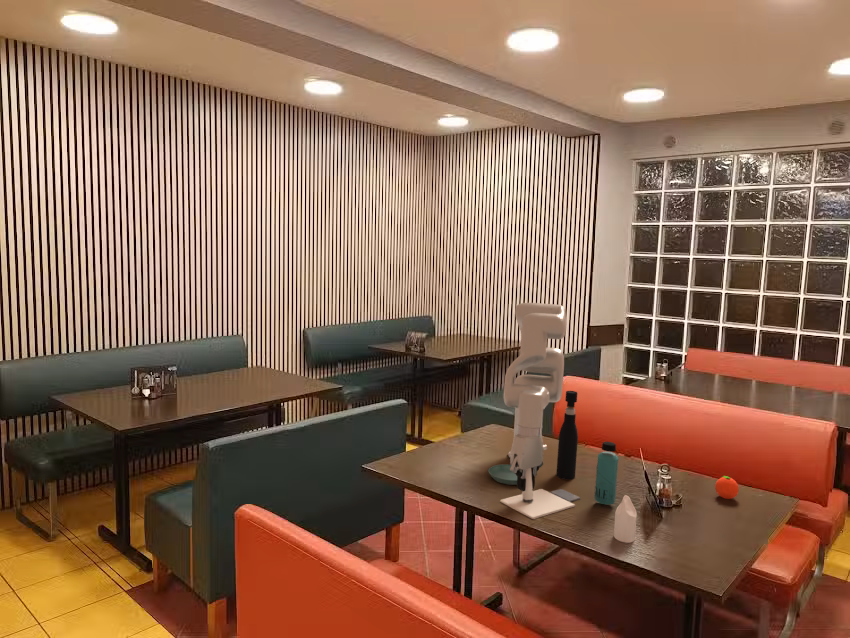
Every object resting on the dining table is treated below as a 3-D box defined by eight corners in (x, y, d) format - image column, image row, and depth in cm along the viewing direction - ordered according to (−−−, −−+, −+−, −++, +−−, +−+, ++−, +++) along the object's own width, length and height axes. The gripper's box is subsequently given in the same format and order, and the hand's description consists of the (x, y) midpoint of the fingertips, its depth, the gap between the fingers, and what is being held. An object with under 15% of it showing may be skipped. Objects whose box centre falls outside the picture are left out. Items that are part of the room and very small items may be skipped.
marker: (528, 498, 189) (526, 458, 190) (535, 500, 186) (532, 459, 187) (520, 500, 188) (518, 459, 188) (527, 502, 185) (524, 461, 185)
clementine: (709, 491, 203) (711, 471, 202) (730, 493, 202) (732, 472, 202) (719, 501, 195) (721, 480, 194) (741, 503, 194) (743, 481, 194)
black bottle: (554, 477, 210) (560, 392, 206) (557, 471, 215) (563, 388, 212) (573, 480, 207) (579, 395, 204) (576, 474, 213) (582, 391, 210)
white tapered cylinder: (634, 502, 161) (613, 496, 165) (631, 545, 163) (610, 538, 166) (641, 495, 166) (620, 489, 169) (637, 536, 168) (617, 530, 171)
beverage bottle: (615, 503, 190) (620, 441, 188) (614, 511, 184) (620, 447, 182) (594, 499, 192) (598, 438, 190) (592, 507, 186) (597, 444, 184)
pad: (541, 490, 197) (541, 488, 197) (574, 506, 186) (574, 504, 186) (500, 501, 187) (500, 499, 187) (532, 519, 176) (532, 517, 176)
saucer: (505, 468, 217) (506, 461, 217) (540, 480, 207) (540, 473, 207) (479, 477, 207) (479, 470, 207) (513, 491, 197) (514, 483, 196)
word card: (561, 490, 198) (561, 488, 198) (580, 498, 192) (580, 497, 192) (550, 493, 196) (550, 491, 196) (569, 502, 189) (569, 500, 189)
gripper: (539, 424, 194) (535, 480, 195) (501, 431, 184) (497, 489, 186) (556, 430, 188) (552, 487, 189) (518, 437, 178) (514, 498, 180)
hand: (525, 488), depth 188 cm, fingers closed on marker, 3 cm apart
